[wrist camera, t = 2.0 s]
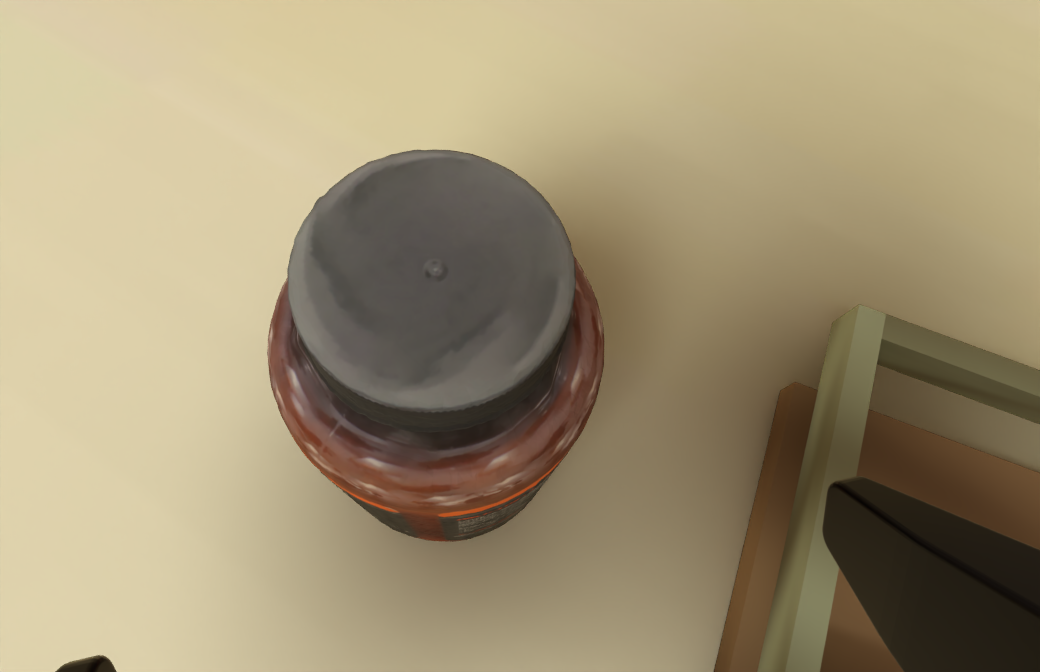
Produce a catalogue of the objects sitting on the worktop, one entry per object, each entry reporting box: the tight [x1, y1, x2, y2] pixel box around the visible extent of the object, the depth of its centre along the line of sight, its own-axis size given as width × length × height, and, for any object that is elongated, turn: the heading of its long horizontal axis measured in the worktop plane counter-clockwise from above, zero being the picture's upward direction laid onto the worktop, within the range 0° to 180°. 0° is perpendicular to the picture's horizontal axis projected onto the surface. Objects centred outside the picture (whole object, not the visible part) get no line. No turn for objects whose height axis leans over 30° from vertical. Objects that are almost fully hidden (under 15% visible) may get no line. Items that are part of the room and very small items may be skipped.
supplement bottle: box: [267, 150, 604, 542], centre depth 15 cm, size 6×6×11 cm
